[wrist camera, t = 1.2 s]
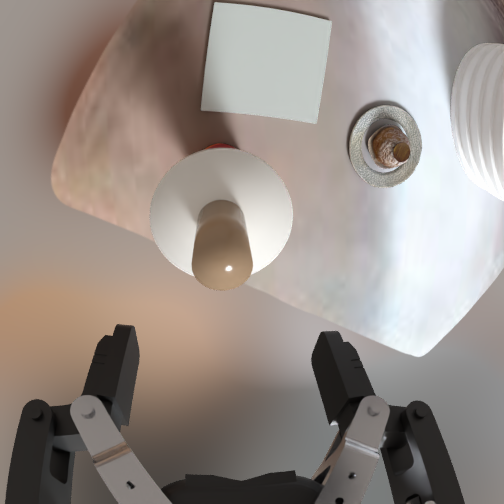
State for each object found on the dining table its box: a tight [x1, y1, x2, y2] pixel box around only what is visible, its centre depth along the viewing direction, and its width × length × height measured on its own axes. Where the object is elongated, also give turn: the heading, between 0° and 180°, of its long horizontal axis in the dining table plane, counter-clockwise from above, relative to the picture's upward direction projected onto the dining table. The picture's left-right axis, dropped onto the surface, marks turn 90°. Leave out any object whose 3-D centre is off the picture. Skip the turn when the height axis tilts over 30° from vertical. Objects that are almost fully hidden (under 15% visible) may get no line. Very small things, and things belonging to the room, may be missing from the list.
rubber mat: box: [201, 2, 332, 124], centre depth 29 cm, size 14×14×1 cm
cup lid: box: [150, 148, 293, 290], centre depth 21 cm, size 11×11×7 cm
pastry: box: [349, 105, 422, 188], centre depth 35 cm, size 12×12×5 cm
